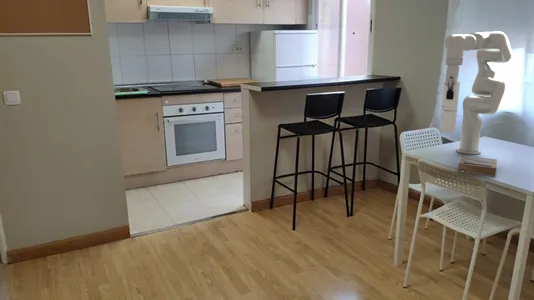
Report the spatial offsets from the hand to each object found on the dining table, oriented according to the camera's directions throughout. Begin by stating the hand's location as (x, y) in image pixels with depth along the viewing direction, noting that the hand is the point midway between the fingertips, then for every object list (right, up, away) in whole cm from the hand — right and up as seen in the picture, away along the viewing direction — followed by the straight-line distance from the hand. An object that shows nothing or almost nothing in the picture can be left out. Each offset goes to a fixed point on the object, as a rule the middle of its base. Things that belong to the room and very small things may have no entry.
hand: (450, 97), depth 208 cm
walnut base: (+12, -36, -3) cm, 38 cm away
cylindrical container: (0, -16, +5) cm, 17 cm away
